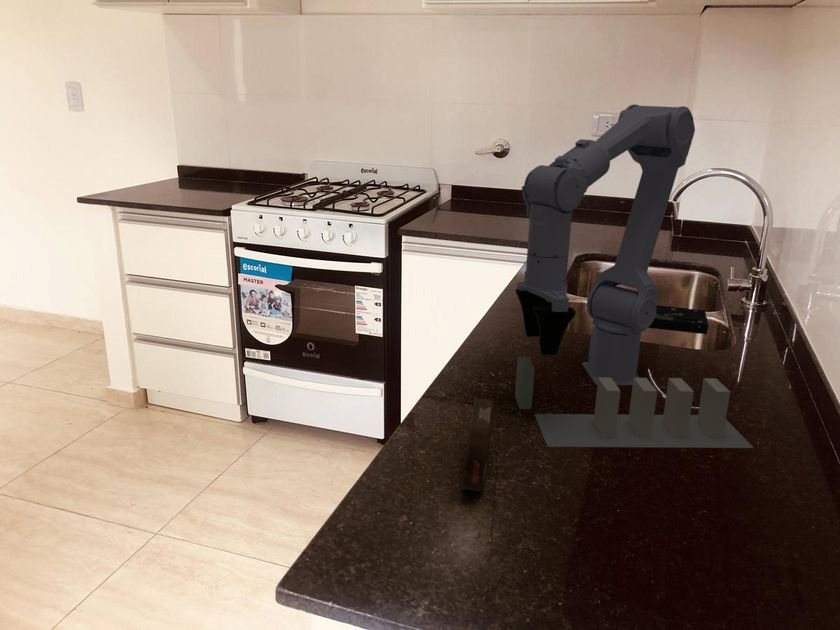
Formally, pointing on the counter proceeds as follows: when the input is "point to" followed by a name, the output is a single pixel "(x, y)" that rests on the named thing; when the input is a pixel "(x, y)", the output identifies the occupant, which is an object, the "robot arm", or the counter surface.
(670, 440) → the mat
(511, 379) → the counter surface
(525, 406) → the domino
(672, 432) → the domino
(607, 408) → the domino
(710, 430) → the domino
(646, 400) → the domino
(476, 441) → the dark translucent bar
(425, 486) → the counter surface
